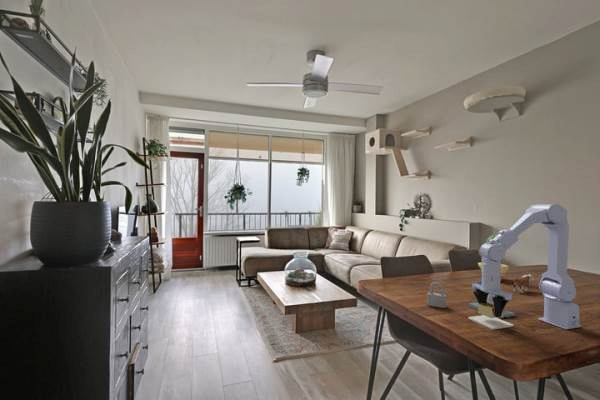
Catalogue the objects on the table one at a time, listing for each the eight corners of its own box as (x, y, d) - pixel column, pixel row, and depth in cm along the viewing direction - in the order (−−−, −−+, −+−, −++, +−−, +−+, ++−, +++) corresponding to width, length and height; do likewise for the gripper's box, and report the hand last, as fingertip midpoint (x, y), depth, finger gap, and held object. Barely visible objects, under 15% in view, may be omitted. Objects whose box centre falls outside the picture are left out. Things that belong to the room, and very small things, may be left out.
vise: (521, 315, 119) (521, 294, 119) (499, 318, 115) (499, 296, 115) (489, 303, 132) (489, 284, 132) (468, 306, 129) (468, 286, 129)
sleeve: (502, 316, 110) (503, 307, 110) (491, 318, 108) (491, 308, 108) (489, 311, 115) (489, 302, 115) (478, 312, 113) (478, 303, 113)
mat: (513, 326, 108) (513, 324, 108) (492, 329, 105) (492, 327, 105) (488, 316, 118) (488, 314, 118) (468, 318, 115) (468, 317, 115)
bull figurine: (536, 291, 153) (536, 274, 153) (518, 293, 148) (518, 276, 148) (526, 288, 157) (527, 272, 157) (509, 291, 152) (509, 274, 152)
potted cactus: (513, 283, 168) (514, 237, 168) (482, 280, 171) (483, 236, 171) (502, 276, 183) (502, 234, 183) (473, 274, 186) (474, 233, 186)
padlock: (445, 305, 129) (446, 282, 129) (445, 308, 125) (446, 284, 125) (427, 303, 132) (428, 280, 132) (427, 305, 128) (427, 282, 128)
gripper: (466, 272, 117) (465, 307, 117) (501, 282, 103) (500, 322, 103) (480, 271, 119) (479, 306, 119) (516, 281, 105) (516, 320, 105)
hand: (490, 313), depth 111 cm, fingers closed on sleeve, 5 cm apart
